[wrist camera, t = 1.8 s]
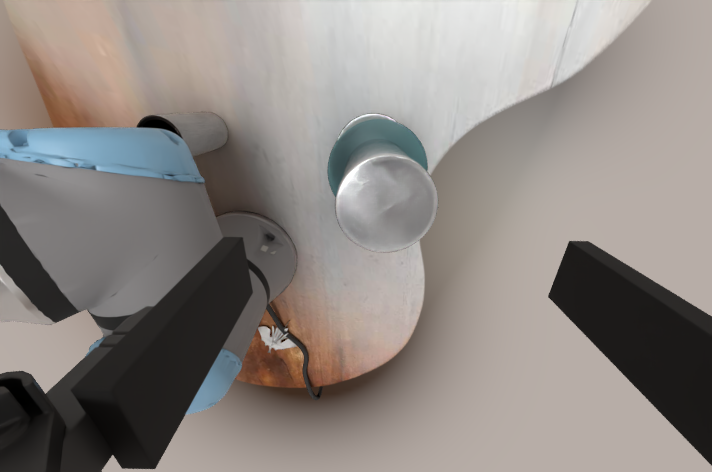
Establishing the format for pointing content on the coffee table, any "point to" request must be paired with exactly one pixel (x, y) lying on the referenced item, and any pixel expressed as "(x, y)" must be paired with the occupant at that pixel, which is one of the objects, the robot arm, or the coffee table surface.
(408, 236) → the cup
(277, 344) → the flower
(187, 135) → the grey hollow tube
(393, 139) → the teal tin can
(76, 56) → the coffee table surface
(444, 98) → the coffee table surface
